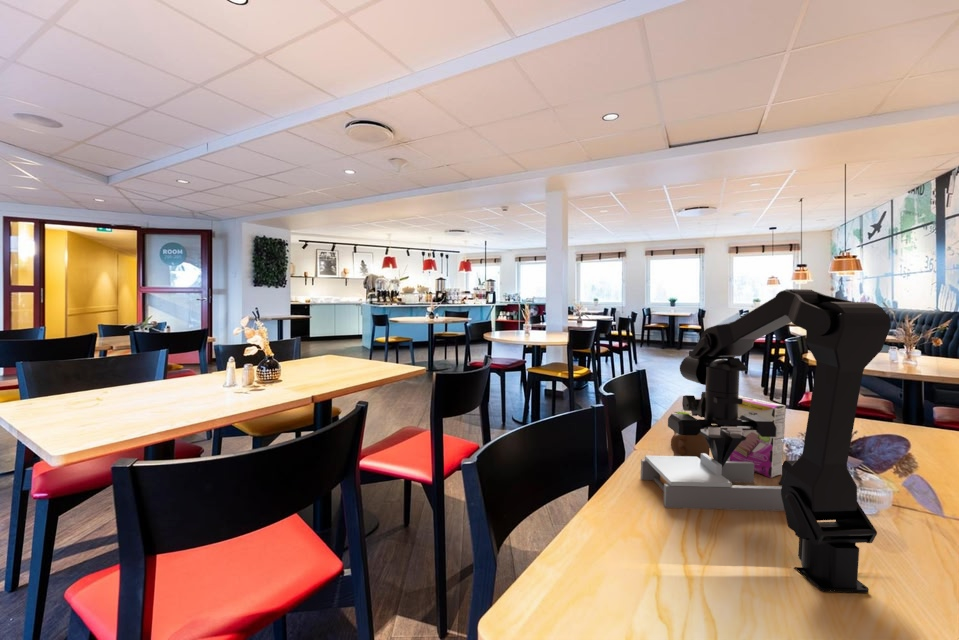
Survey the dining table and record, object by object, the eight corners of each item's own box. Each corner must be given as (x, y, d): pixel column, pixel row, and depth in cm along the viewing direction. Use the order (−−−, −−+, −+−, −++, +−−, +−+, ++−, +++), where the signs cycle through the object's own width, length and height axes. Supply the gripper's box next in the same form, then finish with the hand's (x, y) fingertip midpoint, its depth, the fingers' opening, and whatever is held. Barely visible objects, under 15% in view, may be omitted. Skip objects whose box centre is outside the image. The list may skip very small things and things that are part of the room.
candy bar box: (722, 461, 101) (724, 396, 100) (734, 458, 103) (736, 394, 102) (771, 479, 91) (774, 407, 90) (783, 475, 93) (786, 404, 92)
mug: (688, 480, 90) (689, 438, 90) (656, 468, 96) (657, 429, 96) (714, 468, 97) (716, 429, 96) (683, 457, 103) (685, 421, 103)
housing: (794, 515, 75) (795, 489, 75) (665, 512, 76) (666, 486, 76) (750, 484, 88) (751, 461, 88) (640, 481, 89) (641, 459, 89)
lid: (731, 487, 76) (732, 472, 75) (670, 485, 76) (671, 471, 76) (696, 460, 88) (697, 447, 88) (644, 459, 89) (645, 446, 88)
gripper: (744, 382, 89) (741, 453, 90) (658, 381, 89) (655, 451, 90) (780, 394, 78) (777, 474, 78) (681, 393, 78) (678, 472, 79)
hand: (718, 466), depth 82 cm, fingers closed
